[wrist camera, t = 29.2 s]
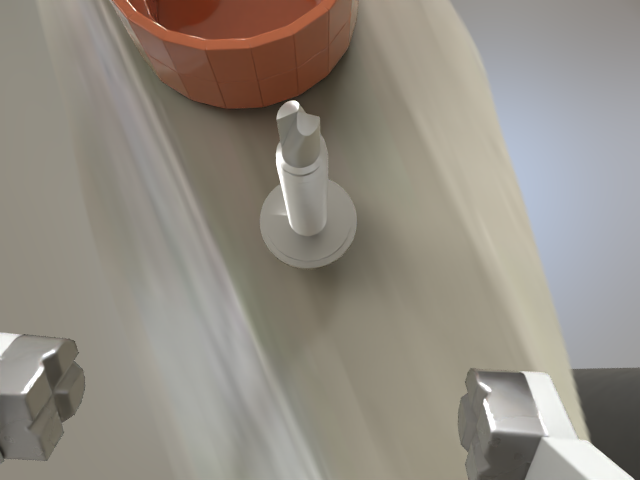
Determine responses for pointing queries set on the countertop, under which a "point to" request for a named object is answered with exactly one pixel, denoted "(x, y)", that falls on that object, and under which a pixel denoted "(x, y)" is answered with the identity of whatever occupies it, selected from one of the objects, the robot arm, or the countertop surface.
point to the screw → (305, 197)
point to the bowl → (240, 45)
